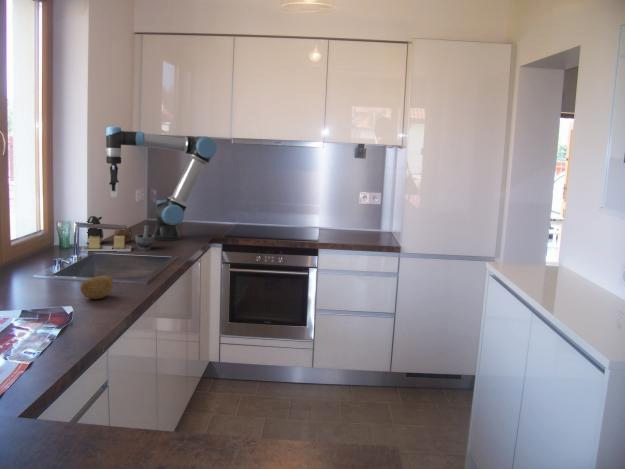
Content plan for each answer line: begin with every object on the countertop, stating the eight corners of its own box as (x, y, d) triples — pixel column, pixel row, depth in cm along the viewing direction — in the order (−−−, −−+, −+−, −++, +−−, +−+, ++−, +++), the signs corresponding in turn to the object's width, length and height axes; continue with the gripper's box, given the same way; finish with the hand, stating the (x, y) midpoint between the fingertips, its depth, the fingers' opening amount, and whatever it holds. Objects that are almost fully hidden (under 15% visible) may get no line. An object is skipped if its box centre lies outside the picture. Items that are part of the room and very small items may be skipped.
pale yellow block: (100, 249, 290) (99, 235, 289) (99, 251, 285) (99, 237, 284) (89, 249, 289) (89, 236, 288) (88, 251, 284) (88, 237, 283)
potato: (120, 294, 208) (120, 273, 207) (98, 304, 195) (98, 282, 194) (97, 291, 210) (97, 271, 209) (74, 301, 197) (73, 279, 196)
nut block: (124, 248, 294) (124, 235, 293) (124, 250, 289) (124, 237, 288) (114, 249, 292) (114, 235, 291) (113, 250, 287) (113, 237, 286)
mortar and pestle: (151, 250, 292) (151, 228, 290) (133, 250, 291) (133, 227, 289) (156, 246, 303) (156, 225, 301) (138, 246, 302) (138, 224, 300)
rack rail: (131, 248, 296) (131, 245, 296) (130, 251, 288) (130, 249, 288) (83, 248, 290) (82, 246, 289) (81, 251, 281) (81, 249, 281)
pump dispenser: (107, 243, 306) (107, 216, 303) (90, 245, 297) (90, 217, 295) (96, 241, 312) (96, 214, 309) (79, 243, 303) (79, 215, 301)
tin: (118, 244, 304) (118, 229, 303) (113, 244, 305) (112, 229, 303) (132, 240, 319) (132, 226, 317) (127, 240, 319) (127, 225, 318)
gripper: (107, 155, 308) (108, 193, 311) (104, 156, 284) (105, 197, 288) (122, 155, 310) (122, 193, 313) (120, 157, 286) (120, 198, 290)
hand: (114, 195), depth 300 cm, fingers open, 13 cm apart
